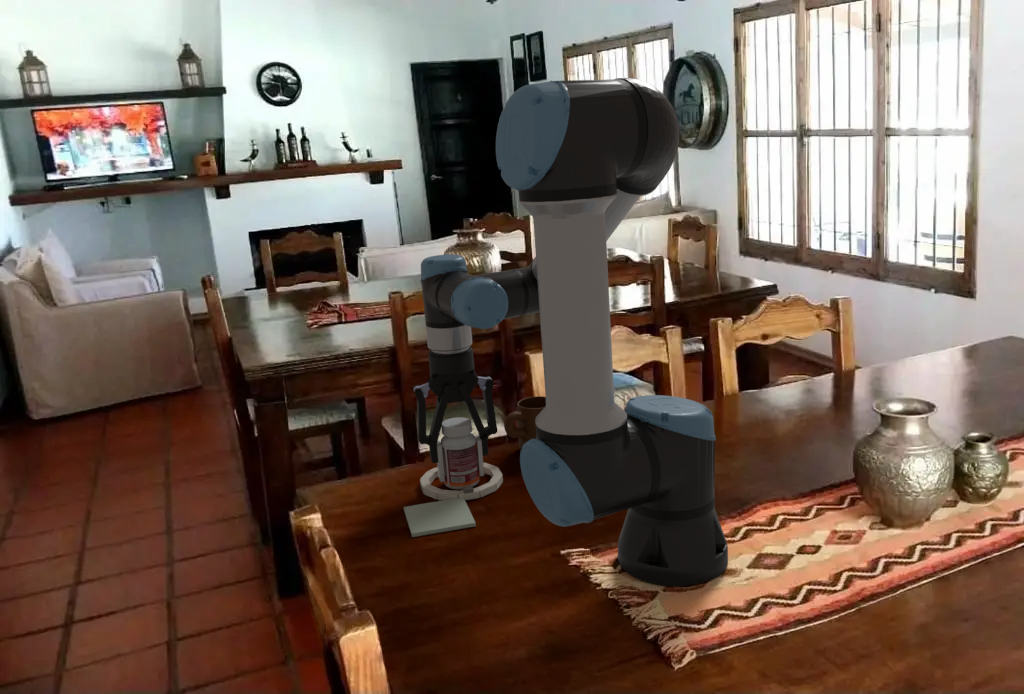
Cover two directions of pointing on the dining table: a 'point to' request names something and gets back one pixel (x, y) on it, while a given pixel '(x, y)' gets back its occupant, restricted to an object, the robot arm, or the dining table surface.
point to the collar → (467, 491)
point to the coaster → (438, 517)
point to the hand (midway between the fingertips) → (461, 475)
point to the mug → (525, 419)
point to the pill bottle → (459, 453)
